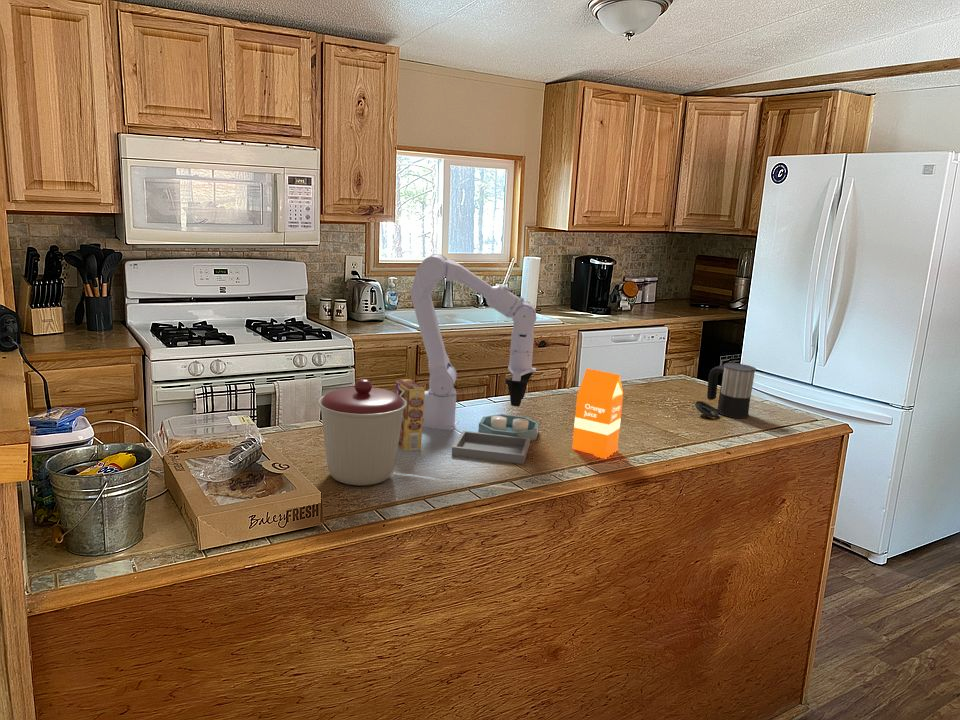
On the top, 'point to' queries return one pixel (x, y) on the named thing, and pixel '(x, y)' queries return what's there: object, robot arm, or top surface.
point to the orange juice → (598, 413)
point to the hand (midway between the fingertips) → (517, 401)
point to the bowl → (509, 427)
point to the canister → (361, 432)
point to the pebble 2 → (520, 425)
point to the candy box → (411, 414)
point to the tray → (491, 447)
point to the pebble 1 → (498, 423)
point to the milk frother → (729, 391)
